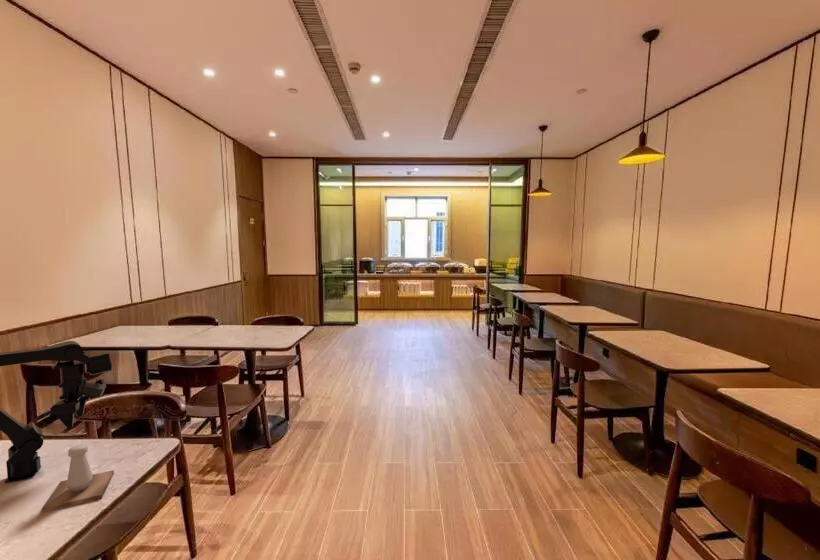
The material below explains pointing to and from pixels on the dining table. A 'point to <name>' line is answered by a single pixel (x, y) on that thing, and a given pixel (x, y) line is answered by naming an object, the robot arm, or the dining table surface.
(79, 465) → the salt shaker
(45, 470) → the dining table surface
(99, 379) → the robot arm
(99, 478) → the walnut board
